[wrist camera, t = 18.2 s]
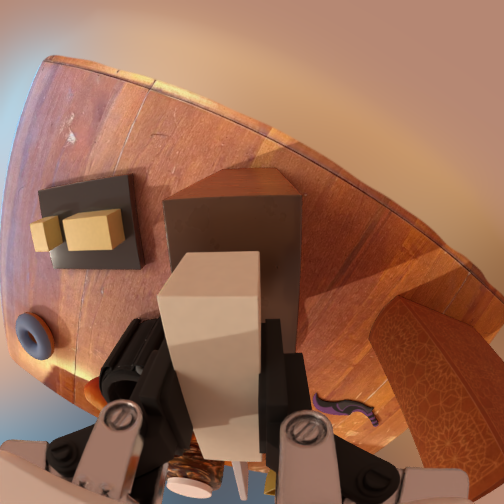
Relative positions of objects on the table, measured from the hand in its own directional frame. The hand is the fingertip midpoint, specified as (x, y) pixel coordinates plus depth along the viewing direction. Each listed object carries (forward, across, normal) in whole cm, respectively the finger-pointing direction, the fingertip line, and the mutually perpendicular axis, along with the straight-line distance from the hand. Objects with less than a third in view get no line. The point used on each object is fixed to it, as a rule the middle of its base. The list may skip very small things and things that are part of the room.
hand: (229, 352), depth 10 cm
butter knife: (0, 0, +4) cm, 4 cm away
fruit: (+24, +28, +31) cm, 48 cm away
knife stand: (+23, 0, +4) cm, 24 cm away
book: (+24, -28, +20) cm, 42 cm away
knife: (+24, -18, +37) cm, 48 cm away
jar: (+24, +12, +44) cm, 52 cm away
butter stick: (+22, +19, 0) cm, 29 cm away
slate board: (+23, +22, 0) cm, 32 cm away
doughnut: (+24, +42, +20) cm, 52 cm away
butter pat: (+22, +28, 0) cm, 35 cm away
